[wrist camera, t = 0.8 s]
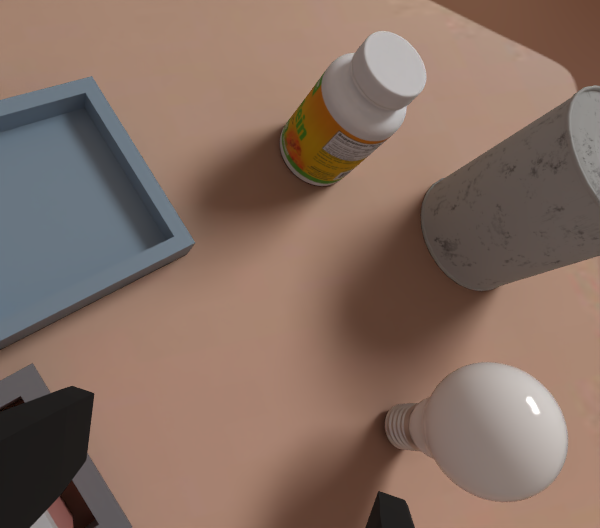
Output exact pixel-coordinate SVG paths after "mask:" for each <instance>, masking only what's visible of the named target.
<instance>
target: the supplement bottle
mask: <svg viewBox="0 0 600 528" xmlns="http://www.w3.org/2000/svg"><path fill="white" fill-rule="evenodd" d="M425 83H426V70H425V66H424V64H423V61H422V59H421V57H420V55H419V54H418V52H417V51H416V50H415V49H414V47H413V46H412V45H411V44H410V43H409V42H407V41H406V40H405V39H403V38H402V37H400V36H398V35H397V34H394V33H391V32H387V31H379V32H375V33H373V34H371V35H370V36H369V37H368V38H367V39H366V40H365V41H364V42H363V43H362V45H361V46H360V47H359V48H358V49H357V51H356V53H349V54H345V55H342V56H340V57H339V58H337V59H336V60H334V61H333V62H332V63H331V64H330V66H329V67H328V68H327V69H326V71H325V72H324V74H323V75H322V76H321V78H320V79H319V80H318V82H317V83H316V84H315V86H314V87H313V88H312V90H311V91H310V93H309V94H308V95H307V97H306V98H305V99H304V101H303V102H302V103H301V105H300V106H299V107H298V109H297V110H296V111H295V113H294V114H293V115H292V116H291V118H290V119H289V120H288V122H287V123H286V125H285V126H284V128H283V130H282V133H281V136H280V149H281V153H282V156H283V159H284V161H285V163H286V164H287V166H288V167H289V169H290V170H291V171H292V172H293V173H294V174H295V175H296V176H297V177H299V178H300V179H302V180H303V181H305V182H307V183H310V184H313V185H318V186H327V185H331V184H334V183H336V182H338V181H340V180H341V179H342V178H344V177H345V176H346V175H347V174H348V173H350V172H351V171H352V170H353V169H354V168H355V167H356V166H357V165H359V164H360V163H361V162H362V161H363V160H364V159H366V158H367V157H368V156H369V155H370V154H371V153H372V152H373V151H375V150H376V149H377V148H378V147H379V146H380V145H382V144H383V143H384V142H385V141H386V140H387V139H388V138H390V137H391V136H392V135H393V134H394V133H395V132H396V131H397V130H398V129H399V127H400V126H401V124H402V123H403V121H404V118H405V115H406V107H407V105H409V104H410V103H411V102H412V101H413V100H414V99H415V98H416V97H417V96H418V95H419V94H420V93H421V91H422V90H423V88H424V86H425Z"/></svg>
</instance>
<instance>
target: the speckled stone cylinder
mask: <svg viewBox="0 0 600 528" xmlns="http://www.w3.org/2000/svg"><path fill="white" fill-rule="evenodd" d="M421 228H422V232H423V236H424V240H425V243H426V245H427V247H428V249H429V252H430V254H431V256H432V257H433V259H434V260H435V262H436V263H437V265H438V266H439V267H440V269H441V270H442V271H443V272H444V273H445V274H446V275H447V276H448V277H449V278H451V279H452V280H453V281H455V282H456V283H457V284H459V285H461V286H463V287H466V288H468V289H471V290H477V291H487V290H492V289H494V288H497V287H499V286H501V285H505V284H508V283H511V282H514V281H518V280H521V279H524V278H527V277H531V276H534V275H537V274H541V273H544V272H547V271H550V270H554V269H557V268H560V267H564V266H567V265H570V264H573V263H577V262H580V261H583V260H587V259H590V258H593V257H596V256H600V86H590V87H584V88H583V89H581V90H580V91H578V92H577V93H575V94H574V95H573V97H572V98H570V99H568V100H567V101H565V102H564V103H562V104H561V105H559V106H557V107H556V108H554V109H553V110H551V111H550V112H548V113H546V114H545V115H543V116H542V117H540V118H539V119H537V120H535V121H534V122H532V123H531V124H529V125H528V126H526V127H524V128H523V129H521V130H520V131H518V132H516V133H515V134H513V135H512V136H510V137H509V138H507V139H505V140H504V141H502V142H501V143H499V144H498V145H496V146H494V147H493V148H491V149H490V150H488V151H487V152H485V153H483V154H482V155H480V156H479V157H477V158H476V159H474V160H472V161H471V162H469V163H468V164H466V165H465V166H463V167H461V168H460V169H458V170H457V171H455V172H454V173H452V174H450V175H449V176H447V177H446V178H442V179H440V180H439V181H437V182H436V183H434V184H433V185H432V186H431V188H430V189H429V190H428V191H427V193H426V195H425V198H424V200H423V203H422V209H421Z"/></svg>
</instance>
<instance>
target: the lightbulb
mask: <svg viewBox="0 0 600 528" xmlns="http://www.w3.org/2000/svg"><path fill="white" fill-rule="evenodd" d="M385 431H386V435H387V437H388V439H389V441H390V442H391V444H392V445H393V446H395V447H396V448H398V449H402V450H411V451H421V452H423V453H424V454H425V455H427V456H429V457H431V458H433V459H434V460H435V462H436V463H437V465H438V466H439V467H440V469H441V470H442V471H443V472H444V474H445V475H446V476H447V477H448V478H449V479H450V480H451V481H452V482H454V483H455V484H456V485H457V486H459V487H460V488H462V489H463V490H465V491H466V492H468V493H470V494H472V495H474V496H477V497H479V498H482V499H486V500H490V501H495V502H515V501H521V500H525V499H528V498H531V497H533V496H535V495H537V494H539V493H540V492H542V491H544V490H545V489H546V488H547V487H548V486H550V485H551V484H552V483H553V481H554V480H555V479H556V478H557V476H558V475H559V473H560V471H561V470H562V467H563V465H564V463H565V460H566V456H567V451H568V431H567V426H566V422H565V419H564V416H563V413H562V411H561V409H560V407H559V405H558V403H557V401H556V400H555V398H554V397H553V396H552V394H551V393H550V392H549V391H548V389H547V388H546V387H545V386H544V385H543V384H542V383H540V382H539V381H538V380H537V379H535V378H534V377H533V376H531V375H530V374H528V373H526V372H525V371H523V370H521V369H518V368H516V367H513V366H510V365H507V364H502V363H496V362H479V363H473V364H469V365H466V366H463V367H461V368H458V369H456V370H455V371H453V372H451V373H450V374H449V375H447V376H446V377H445V378H444V379H443V380H442V381H441V382H440V383H439V384H438V385H437V387H436V388H435V389H434V391H433V392H432V394H431V396H430V397H428V398H426V399H424V400H422V401H421V402H419V403H407V404H397V405H395V406H393V407H392V408H391V409H390V410H389V411H388V413H387V415H386V419H385Z"/></svg>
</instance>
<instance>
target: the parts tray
mask: <svg viewBox="0 0 600 528" xmlns="http://www.w3.org/2000/svg"><path fill="white" fill-rule="evenodd" d="M194 244H195V242H194V240H193V238H192V237H191V235H190V234H189V232H188V230H187V229H186V227H185V226H184V224H183V222H182V221H181V219H180V217H179V216H178V214H177V213H176V211H175V209H174V208H173V206H172V205H171V203H170V201H169V200H168V198H167V197H166V195H165V193H164V192H163V190H162V188H161V187H160V185H159V184H158V182H157V180H156V179H155V177H154V176H153V174H152V172H151V171H150V169H149V167H148V166H147V164H146V163H145V161H144V159H143V158H142V156H141V155H140V153H139V151H138V150H137V148H136V147H135V145H134V143H133V142H132V140H131V138H130V137H129V135H128V134H127V132H126V130H125V129H124V127H123V126H122V124H121V122H120V121H119V119H118V118H117V116H116V114H115V113H114V111H113V109H112V108H111V106H110V105H109V103H108V101H107V100H106V98H105V97H104V95H103V93H102V92H101V90H100V89H99V87H98V85H97V84H96V82H95V80H94V79H93V77H92V76H91V77H87V78H84V79H80V80H76V81H72V82H68V83H64V84H60V85H57V86H53V87H49V88H45V89H41V90H37V91H33V92H30V93H26V94H22V95H18V96H14V97H10V98H7V99H3V100H0V350H1V349H3V348H5V347H7V346H8V345H10V344H12V343H14V342H16V341H18V340H20V339H22V338H24V337H26V336H28V335H30V334H32V333H34V332H36V331H38V330H40V329H42V328H44V327H46V326H48V325H50V324H51V323H53V322H55V321H57V320H59V319H61V318H63V317H65V316H67V315H69V314H71V313H73V312H75V311H77V310H79V309H81V308H83V307H85V306H87V305H89V304H91V303H92V302H94V301H96V300H98V299H100V298H102V297H104V296H106V295H108V294H110V293H112V292H114V291H116V290H118V289H120V288H122V287H124V286H126V285H128V284H130V283H132V282H133V281H135V280H137V279H139V278H141V277H143V276H145V275H147V274H149V273H151V272H153V271H155V270H157V269H159V268H161V267H163V266H165V265H167V264H169V263H171V262H173V261H174V260H176V259H178V258H180V257H182V256H184V255H186V254H188V252H189V251H190V249H191V248H192V247H193V245H194Z"/></svg>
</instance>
